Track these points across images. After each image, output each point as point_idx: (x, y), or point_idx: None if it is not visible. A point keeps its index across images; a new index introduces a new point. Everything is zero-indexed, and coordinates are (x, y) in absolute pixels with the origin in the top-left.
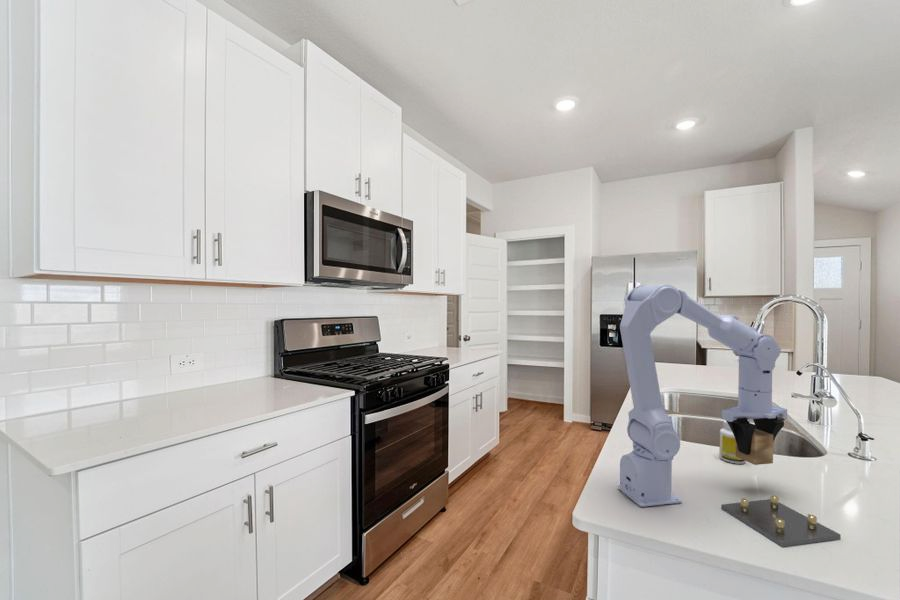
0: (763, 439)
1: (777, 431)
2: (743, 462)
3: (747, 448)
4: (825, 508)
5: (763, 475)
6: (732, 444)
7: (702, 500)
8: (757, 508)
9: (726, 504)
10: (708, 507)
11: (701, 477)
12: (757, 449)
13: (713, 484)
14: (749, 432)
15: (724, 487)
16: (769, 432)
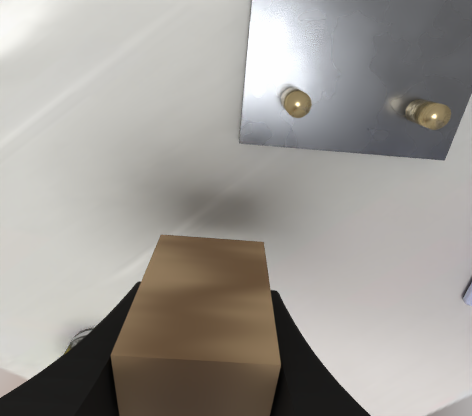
0: (207, 336)
1: (49, 379)
2: (90, 331)
3: (288, 312)
4: (89, 60)
5: (94, 270)
6: None
7: (433, 207)
8: (360, 107)
9: (427, 156)
10: (463, 172)
11: (292, 300)
12: (253, 291)
13: (300, 265)
14: (337, 402)
15: (287, 246)
16: (106, 384)
